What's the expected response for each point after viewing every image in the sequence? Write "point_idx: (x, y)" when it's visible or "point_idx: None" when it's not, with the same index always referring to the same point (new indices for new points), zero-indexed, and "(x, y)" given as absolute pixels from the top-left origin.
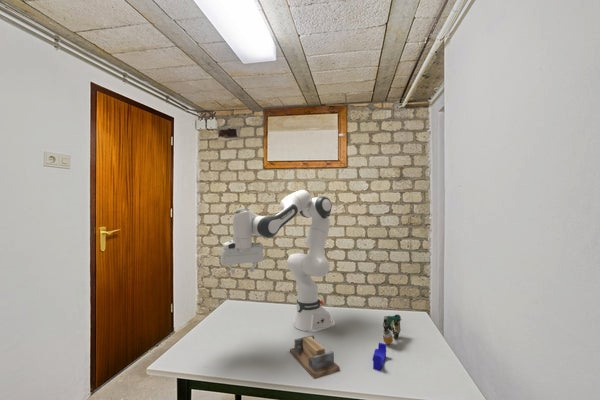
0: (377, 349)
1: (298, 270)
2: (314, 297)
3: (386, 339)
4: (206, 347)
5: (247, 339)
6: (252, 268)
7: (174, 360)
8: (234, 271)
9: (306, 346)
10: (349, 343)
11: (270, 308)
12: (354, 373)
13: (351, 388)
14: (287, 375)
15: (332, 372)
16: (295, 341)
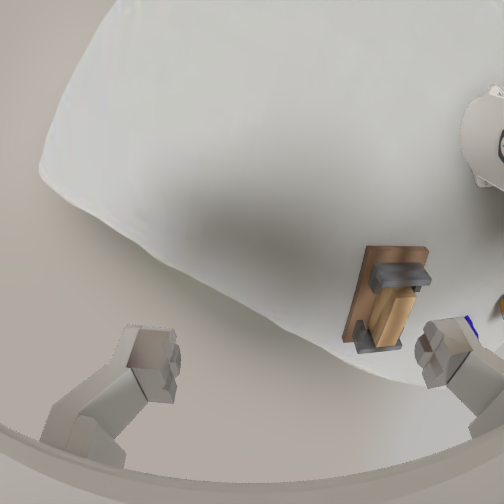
0: (470, 326)
1: None
2: None
3: (501, 312)
4: (148, 109)
5: (293, 110)
6: (442, 382)
7: (69, 156)
8: (176, 386)
9: (386, 306)
10: (478, 269)
11: None
12: (402, 344)
13: (368, 365)
14: (307, 316)
15: None
16: (381, 283)
